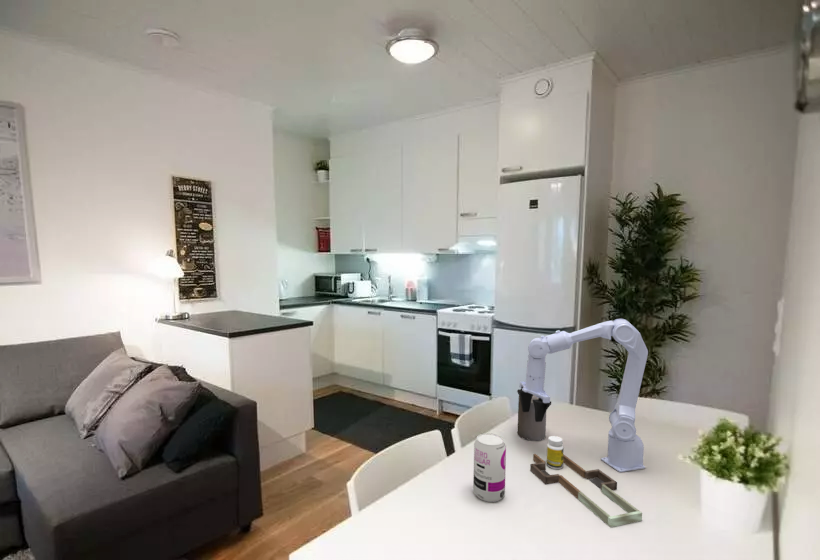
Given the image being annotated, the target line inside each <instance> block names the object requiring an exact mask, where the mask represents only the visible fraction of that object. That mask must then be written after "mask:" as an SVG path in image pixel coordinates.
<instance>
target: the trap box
mask: <svg viewBox="0 0 820 560" xmlns="http://www.w3.org/2000/svg"><path fill="white" fill-rule="evenodd" d="M532 461H533V462H534V463H531V464H530V467H529V468H530V470H529V471H530V472H531V473H532V474H533V475H534V474H535V475H534V476H535V477H536V478H538V480H540V481H541V482H542V483H543V485H552V484H560V485H561V486H562V487H563V488H564V489H566V491H568V492H569V493H570V494H571V495H572V496H574V497H575V499H577V500H579V501H580V503H582V504H583V505H584V506H585V507H586V508H588V509H589V510H590V511H591V512H592V513H593V514H594V515H595V516H596V517H598V518H599V519H600V520H601V521H602V522H604V523H605V524H606V525H607V526H608V527H610V528H613V527H618V526H623V525H629V524H633V523H637V522H642V521H643V512H642V511H640V510H639V509H638V508H637V507H635V506H633V505H632V504H631V503H630V502H628V501H627V500H626V499H624V498H623V497H622V496H620V495H619V494H618V493H617V492H615V491H616V490H618V482H617V481H616V480H614V479H613V478H611V476H609V475H608V474H606V473H605V472H603V471H602V470H600V469H599V468H597V469H591V470H585V469H584V468H583V467H581V466H580V465H579V464H578V463H576V461H575V462H574V461H573V459H570V458H569V457H568V456H567V455H566V454H564V453H563V464H565V465H566V466H567V467H568V468H570V469H571V470H572V471H573V472H575V473H576V474H577V475H579V476H580V477H581V478H583V479H585V480H588V481H589V482H590V483H592V484H594V485H595V486H596V487H597V488H599V489H600V491H601V493H602V494H603V495H604V496H606V497H607V498H608V499H610V500H611V501H612V502H614V503H615V504H616V505H617V506H619V507H620V508H622V510H624V511H625V512H626V513H621V514H616V515H610V514H609V513H608V512H606V511H605V510H604V509H603V508H602V507H600V506H599V505H598V504H597V503H595V502H594V501H593V500H592V499H590V498H589V497H588V496H587V495H586V494H585V493H583V492H582V491H581V490H580V489H579V488H577V487H576V485H574V484H573V483H571V482H570V481H569V480H568V479H567V478H566V477H564V476H563V475H560V474H559V473H556V474H550V473H549V472H548V471H547V470H546V469H547V468H546V466H547V464H546V461H545V460H544V459H542V458H541V457H540V456H539V455H538V454H536V453H533V454H532Z"/></svg>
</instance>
